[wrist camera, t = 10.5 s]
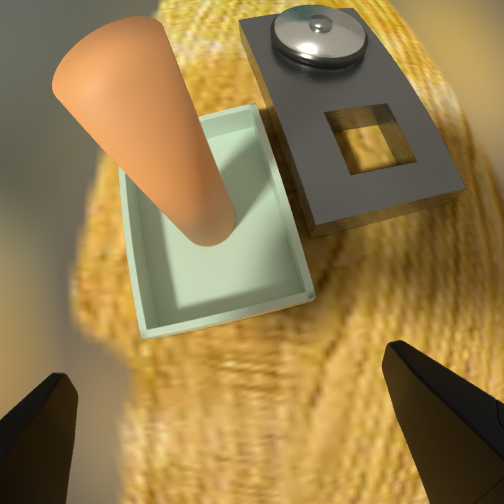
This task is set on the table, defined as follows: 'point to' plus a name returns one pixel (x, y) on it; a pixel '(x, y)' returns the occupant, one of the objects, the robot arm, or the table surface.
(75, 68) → the pin
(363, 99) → the plate
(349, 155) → the table surface
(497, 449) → the robot arm
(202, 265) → the tray
